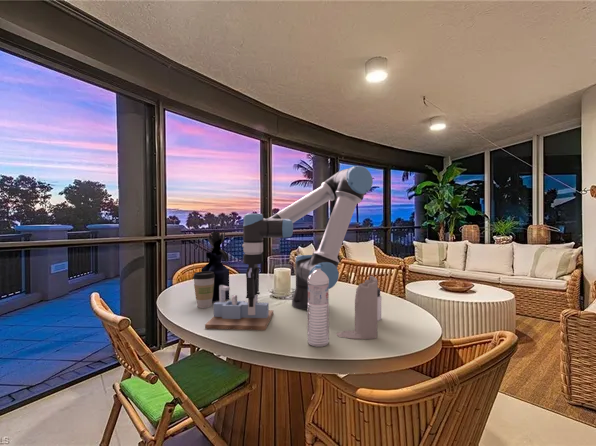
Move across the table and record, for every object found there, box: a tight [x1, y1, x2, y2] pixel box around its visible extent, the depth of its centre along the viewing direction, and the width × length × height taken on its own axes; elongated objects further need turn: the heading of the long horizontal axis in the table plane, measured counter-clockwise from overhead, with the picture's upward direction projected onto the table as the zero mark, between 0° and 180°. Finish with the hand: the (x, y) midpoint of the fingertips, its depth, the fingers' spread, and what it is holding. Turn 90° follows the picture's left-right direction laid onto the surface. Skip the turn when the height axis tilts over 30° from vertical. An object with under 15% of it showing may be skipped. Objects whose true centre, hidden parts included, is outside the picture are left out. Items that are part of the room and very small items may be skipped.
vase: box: [201, 227, 230, 303], centre depth 158 cm, size 14×12×35 cm
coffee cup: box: [192, 271, 215, 309], centre depth 145 cm, size 10×10×15 cm
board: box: [204, 309, 274, 331], centre depth 125 cm, size 22×19×2 cm
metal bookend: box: [335, 275, 378, 340], centre depth 109 cm, size 7×14×20 cm, turn 88°
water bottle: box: [306, 265, 330, 348], centre depth 102 cm, size 7×7×25 cm
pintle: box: [231, 294, 238, 305], centre depth 126 cm, size 2×2×10 cm
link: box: [213, 300, 270, 319], centre depth 126 cm, size 21×7×5 cm, turn 86°
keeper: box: [218, 285, 231, 302], centre depth 132 cm, size 6×2×12 cm, turn 41°
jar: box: [377, 287, 382, 322], centre depth 127 cm, size 9×8×12 cm
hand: (252, 312), depth 125 cm, fingers closed on link, 4 cm apart
